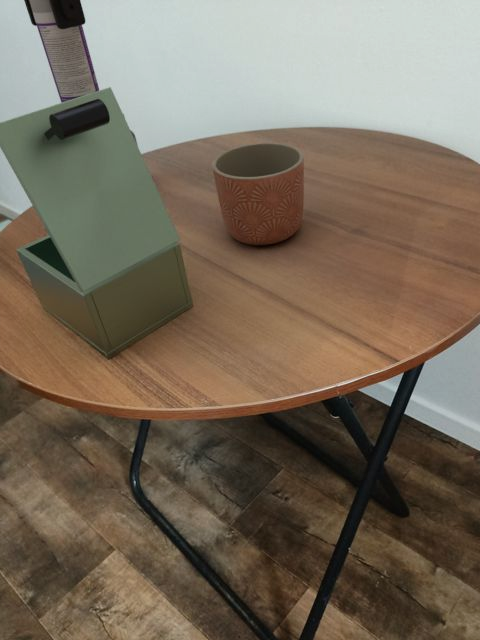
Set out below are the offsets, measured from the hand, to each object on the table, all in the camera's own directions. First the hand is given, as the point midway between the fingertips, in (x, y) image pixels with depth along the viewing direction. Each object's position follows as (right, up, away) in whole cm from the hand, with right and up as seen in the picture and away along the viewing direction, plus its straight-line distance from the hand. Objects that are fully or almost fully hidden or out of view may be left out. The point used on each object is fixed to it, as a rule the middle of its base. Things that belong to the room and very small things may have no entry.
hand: (58, 22), depth 57 cm
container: (+1, -7, +7) cm, 10 cm away
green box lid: (+5, -20, -4) cm, 21 cm away
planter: (+23, -18, +21) cm, 36 cm away
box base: (+4, -30, +9) cm, 32 cm away
